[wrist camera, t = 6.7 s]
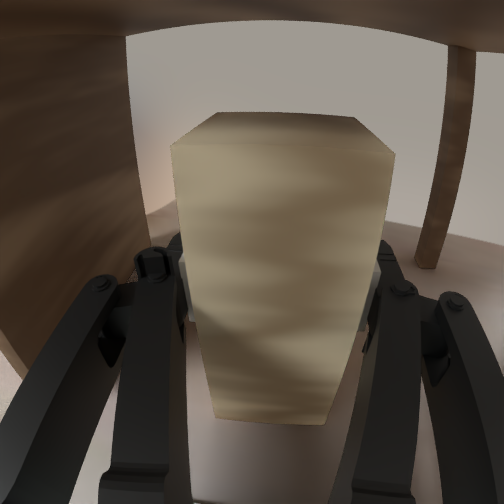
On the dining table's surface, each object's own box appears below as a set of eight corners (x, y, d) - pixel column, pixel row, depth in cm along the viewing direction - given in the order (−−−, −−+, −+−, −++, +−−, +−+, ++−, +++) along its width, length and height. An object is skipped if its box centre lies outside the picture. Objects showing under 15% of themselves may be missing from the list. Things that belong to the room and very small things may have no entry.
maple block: (215, 417, 13) (169, 145, 7) (232, 340, 17) (217, 112, 11) (324, 425, 13) (395, 154, 6) (321, 345, 17) (354, 117, 10)
